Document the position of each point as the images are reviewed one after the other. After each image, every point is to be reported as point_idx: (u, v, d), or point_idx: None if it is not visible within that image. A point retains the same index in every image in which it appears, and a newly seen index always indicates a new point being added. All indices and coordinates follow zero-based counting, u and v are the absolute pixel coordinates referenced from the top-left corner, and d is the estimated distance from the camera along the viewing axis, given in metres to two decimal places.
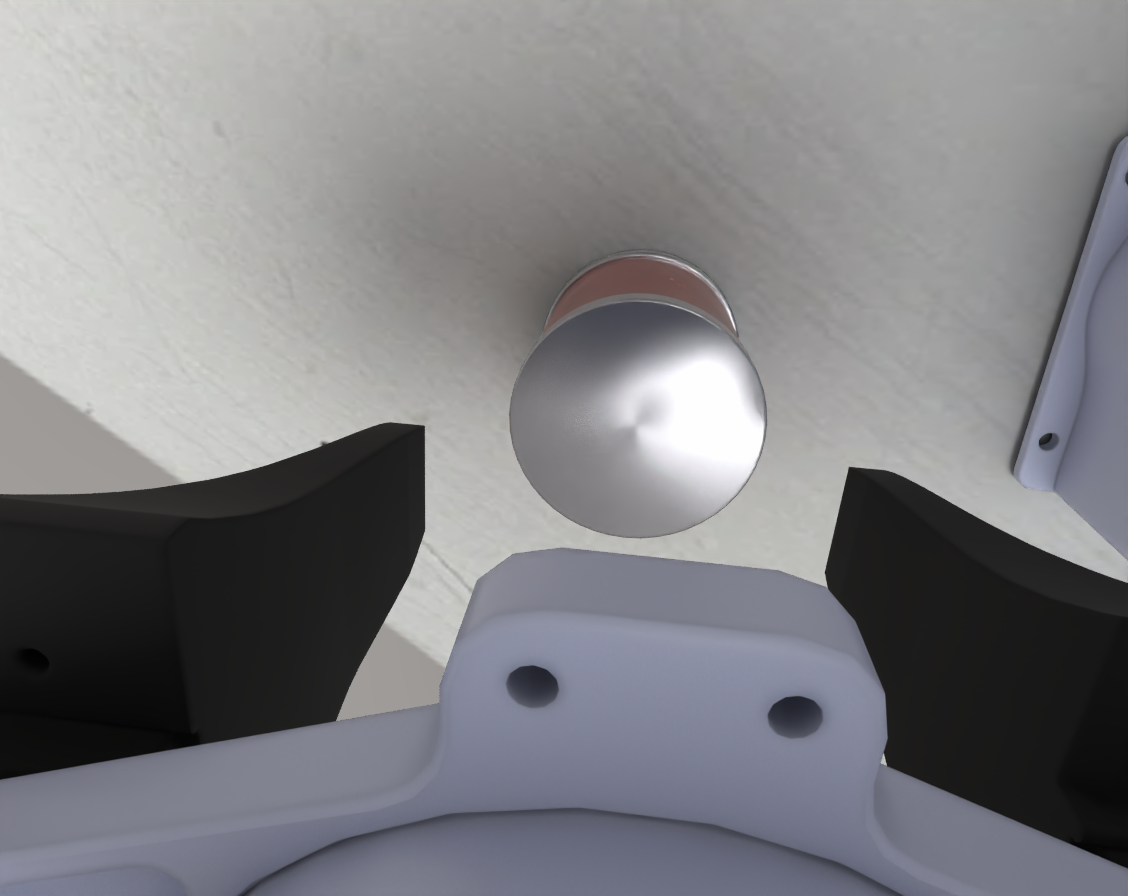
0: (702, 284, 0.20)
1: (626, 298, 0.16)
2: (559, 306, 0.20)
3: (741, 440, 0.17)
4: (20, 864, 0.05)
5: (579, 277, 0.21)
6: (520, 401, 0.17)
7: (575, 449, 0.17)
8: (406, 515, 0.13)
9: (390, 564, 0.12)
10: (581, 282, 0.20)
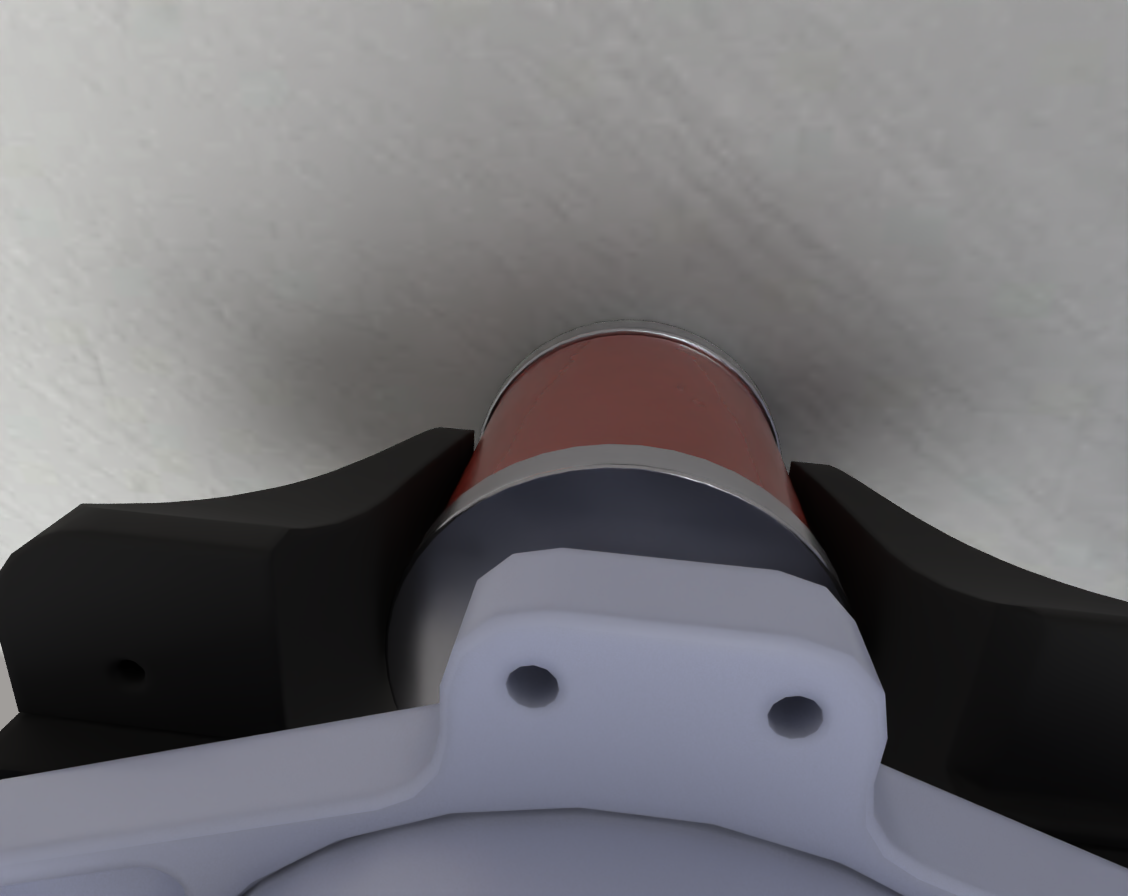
0: (728, 384, 0.12)
1: (596, 461, 0.08)
2: (494, 422, 0.12)
3: None
4: (20, 865, 0.05)
5: (532, 363, 0.14)
6: (402, 633, 0.09)
7: None
8: None
9: None
10: (532, 378, 0.13)
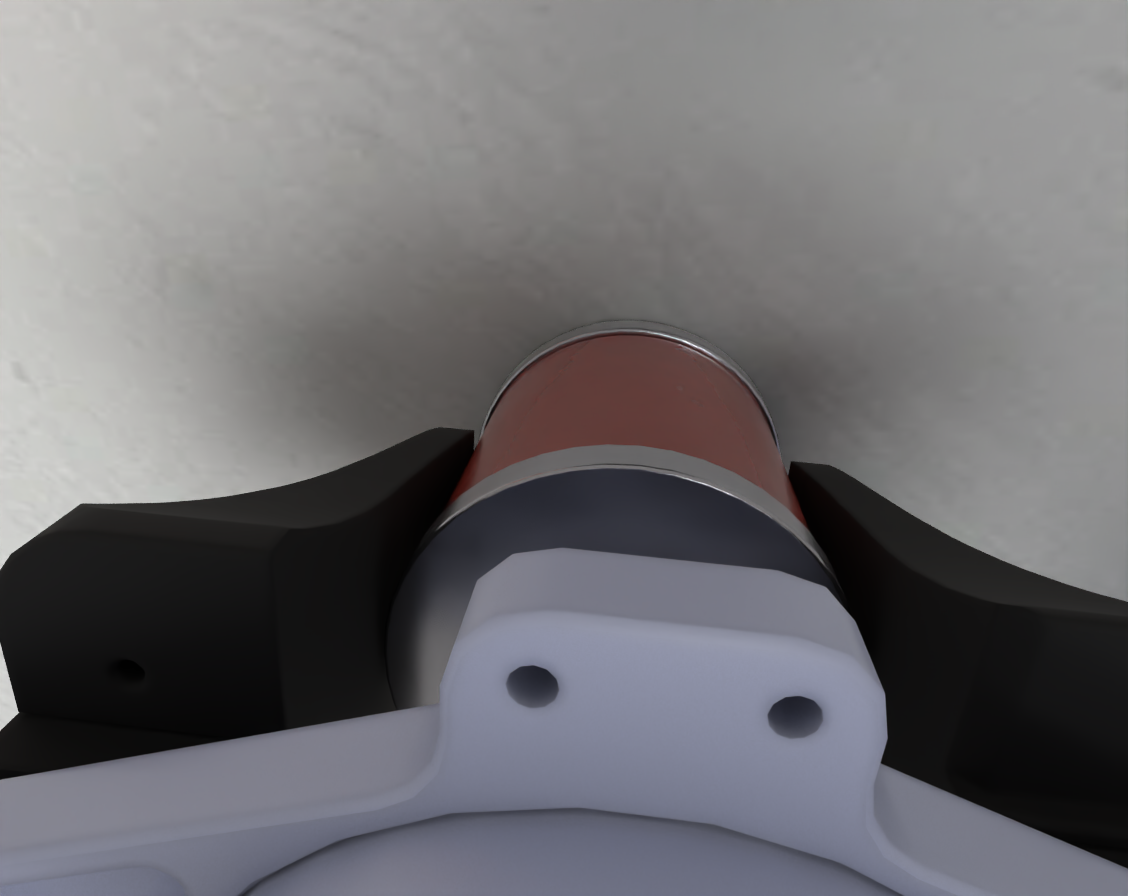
0: (728, 384, 0.12)
1: (595, 461, 0.08)
2: (494, 422, 0.12)
3: None
4: (20, 865, 0.05)
5: (532, 364, 0.14)
6: (402, 634, 0.09)
7: None
8: None
9: None
10: (532, 379, 0.13)
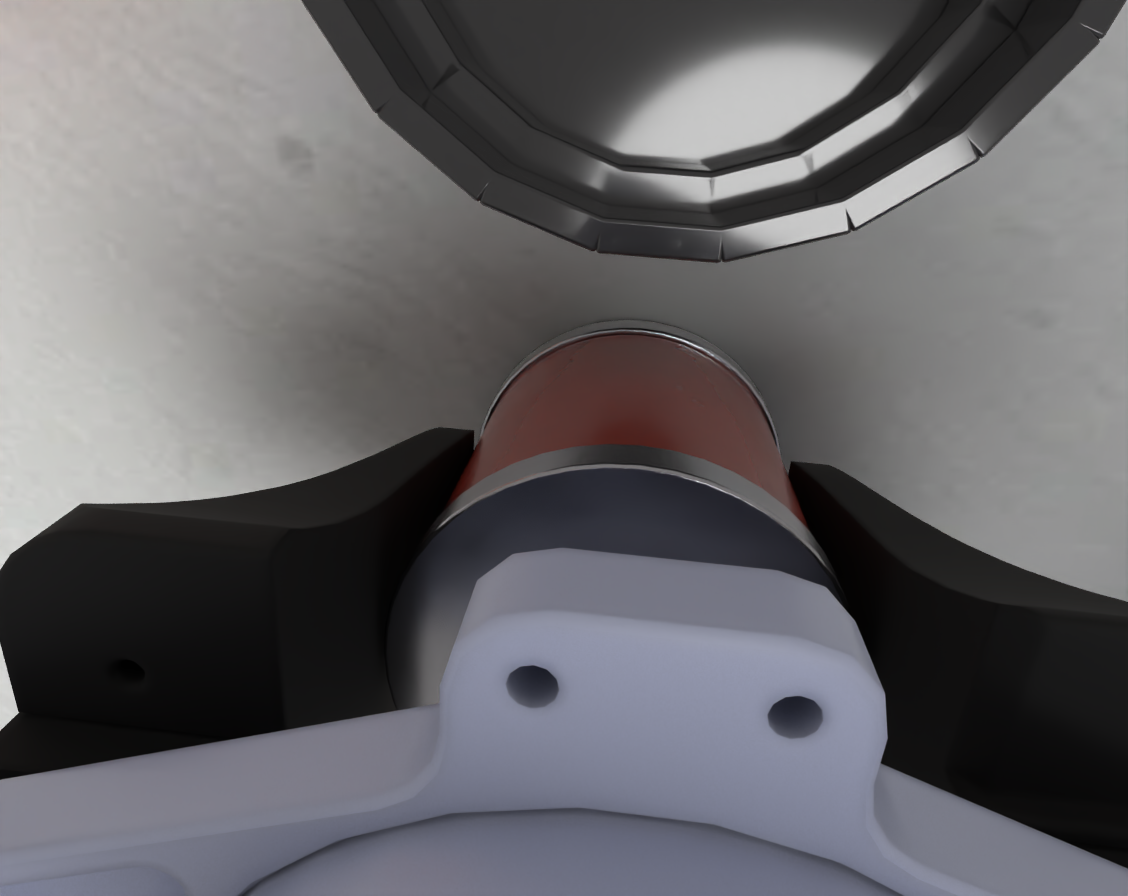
0: (728, 384, 0.12)
1: (595, 461, 0.08)
2: (493, 422, 0.12)
3: None
4: (20, 864, 0.05)
5: (532, 363, 0.14)
6: (401, 633, 0.09)
7: None
8: None
9: None
10: (532, 378, 0.13)
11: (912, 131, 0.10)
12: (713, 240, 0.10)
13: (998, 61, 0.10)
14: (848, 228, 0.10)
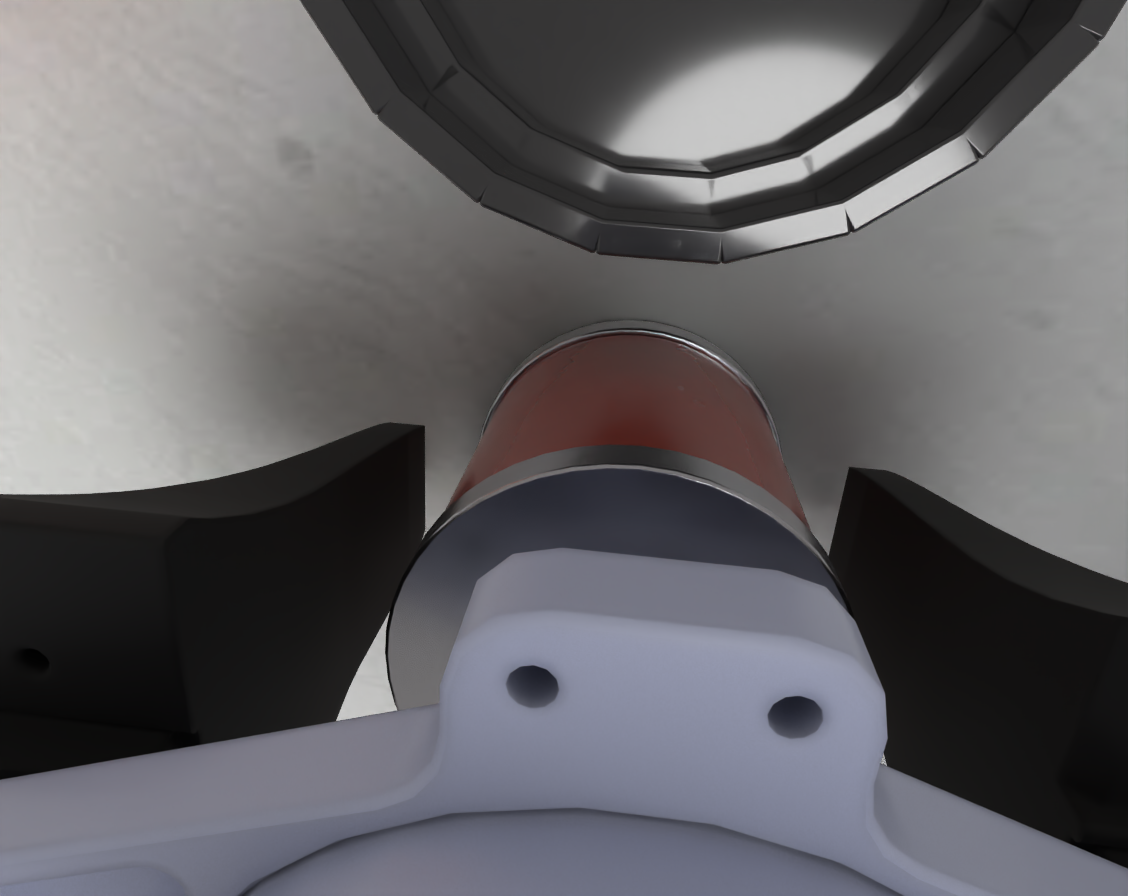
0: (729, 384, 0.12)
1: (597, 461, 0.08)
2: (495, 422, 0.12)
3: None
4: (20, 865, 0.05)
5: (533, 364, 0.14)
6: (403, 634, 0.09)
7: None
8: (406, 515, 0.13)
9: (390, 564, 0.12)
10: (533, 379, 0.13)
11: (912, 133, 0.10)
12: (713, 242, 0.10)
13: (997, 63, 0.10)
14: (848, 230, 0.10)
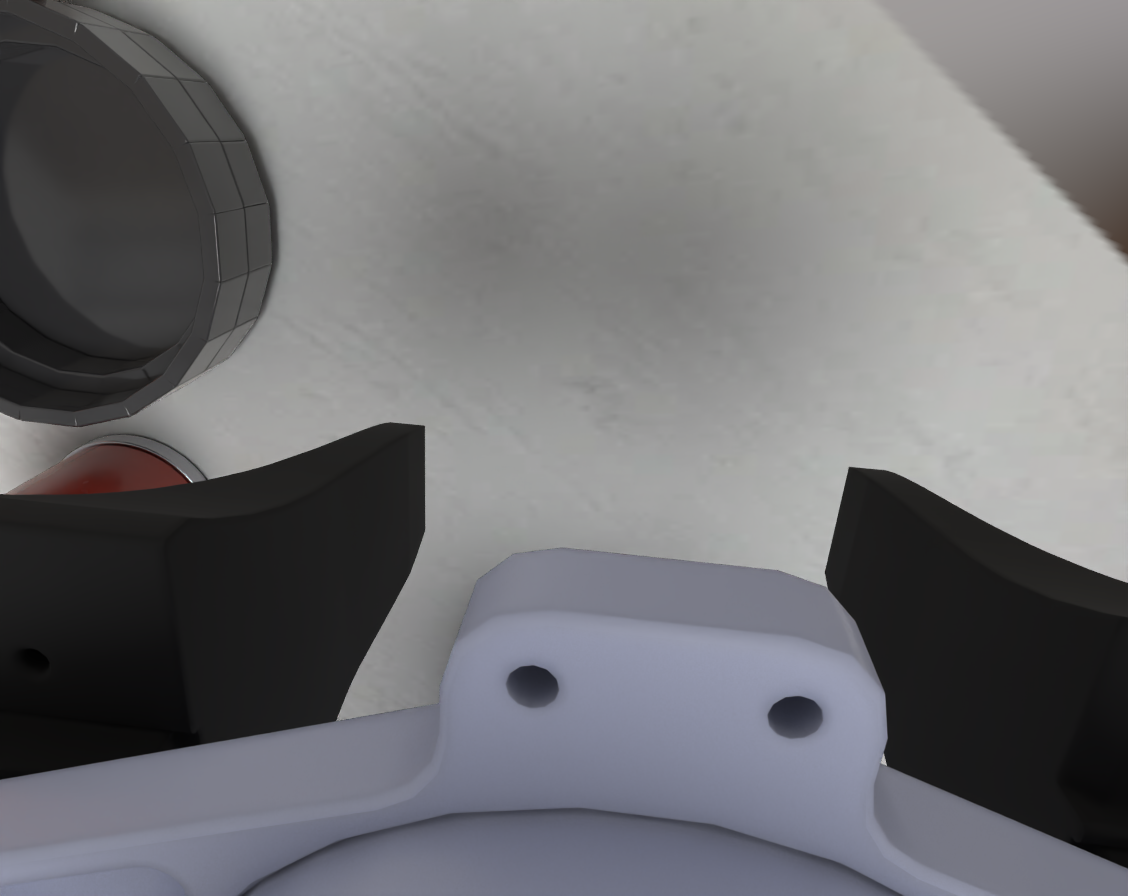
0: (147, 475, 0.23)
1: None
2: None
3: None
4: (20, 864, 0.05)
5: (66, 458, 0.24)
6: None
7: None
8: (406, 515, 0.13)
9: (390, 564, 0.12)
10: None
11: None
12: (71, 417, 0.21)
13: None
14: (129, 414, 0.21)
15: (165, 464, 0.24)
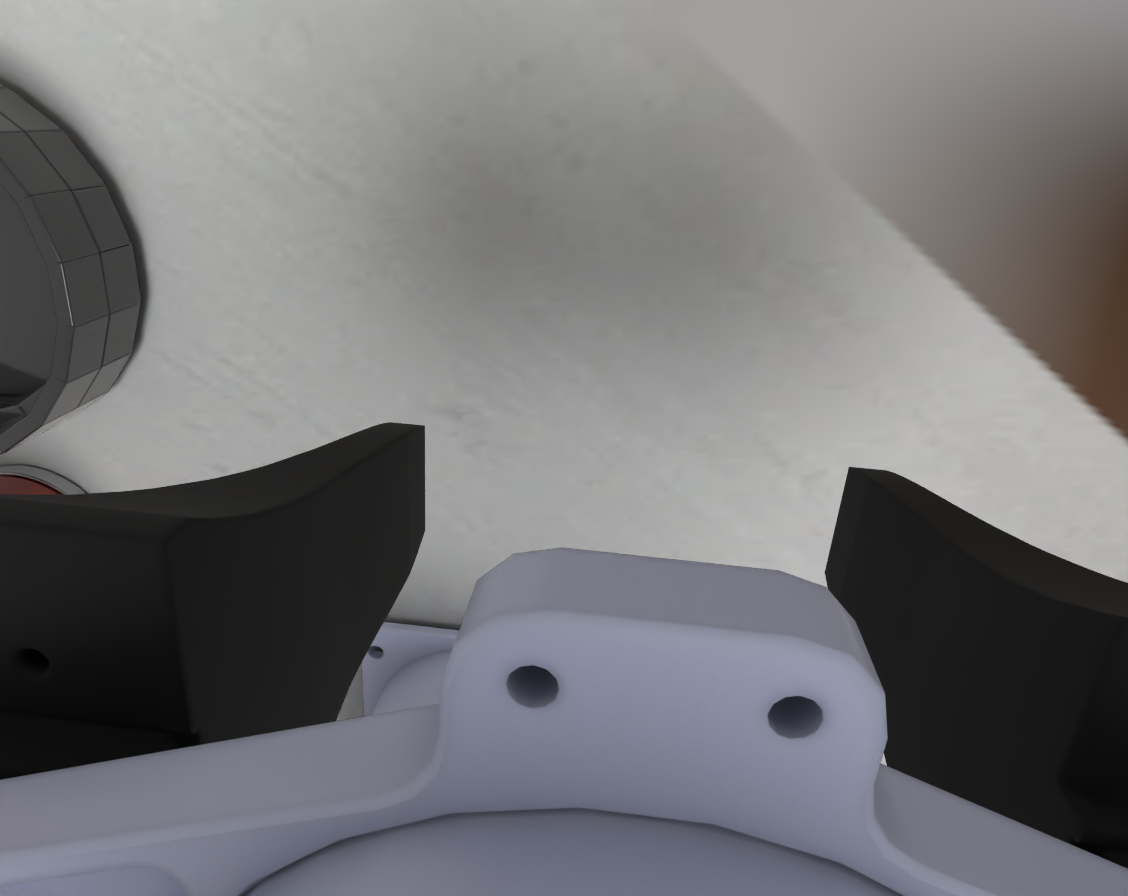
0: None
1: None
2: None
3: None
4: (20, 864, 0.05)
5: None
6: None
7: None
8: (405, 516, 0.13)
9: (390, 564, 0.12)
10: None
11: None
12: None
13: None
14: (1, 451, 0.21)
15: None
